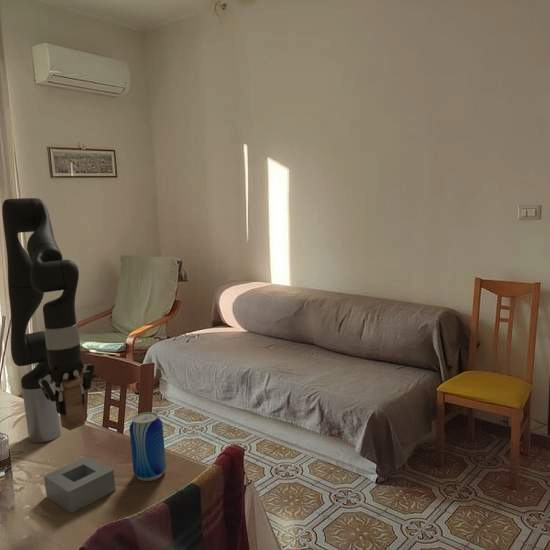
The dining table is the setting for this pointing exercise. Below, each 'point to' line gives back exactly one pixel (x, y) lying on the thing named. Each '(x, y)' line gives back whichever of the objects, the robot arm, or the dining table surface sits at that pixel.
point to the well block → (79, 483)
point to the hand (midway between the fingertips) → (71, 410)
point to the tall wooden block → (72, 404)
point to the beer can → (147, 446)
